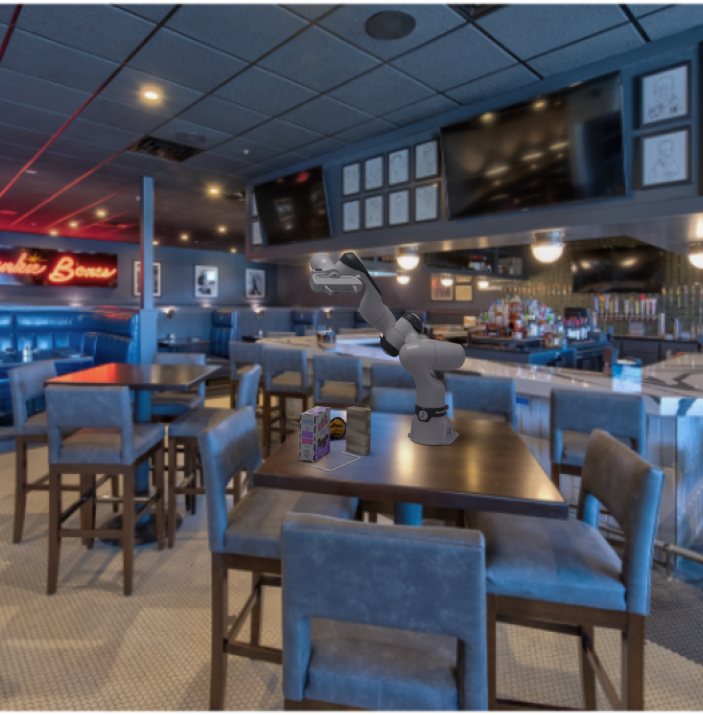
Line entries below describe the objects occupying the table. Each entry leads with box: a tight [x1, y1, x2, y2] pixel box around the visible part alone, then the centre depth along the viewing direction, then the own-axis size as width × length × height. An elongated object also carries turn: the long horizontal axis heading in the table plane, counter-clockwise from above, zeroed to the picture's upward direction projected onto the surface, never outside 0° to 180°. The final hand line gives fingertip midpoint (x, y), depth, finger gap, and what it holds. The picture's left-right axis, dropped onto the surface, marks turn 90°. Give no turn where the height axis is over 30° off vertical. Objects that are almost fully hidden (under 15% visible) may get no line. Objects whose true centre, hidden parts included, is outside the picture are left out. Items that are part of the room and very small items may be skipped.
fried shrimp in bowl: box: [330, 416, 346, 442], centre depth 182 cm, size 9×11×18 cm
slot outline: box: [308, 451, 364, 473], centre depth 158 cm, size 18×9×1 cm, turn 143°
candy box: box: [299, 405, 331, 463], centre depth 162 cm, size 14×6×16 cm, turn 160°
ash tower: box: [345, 405, 372, 457], centre depth 167 cm, size 4×8×16 cm, turn 53°
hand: (343, 294), depth 174 cm, fingers open, 8 cm apart
